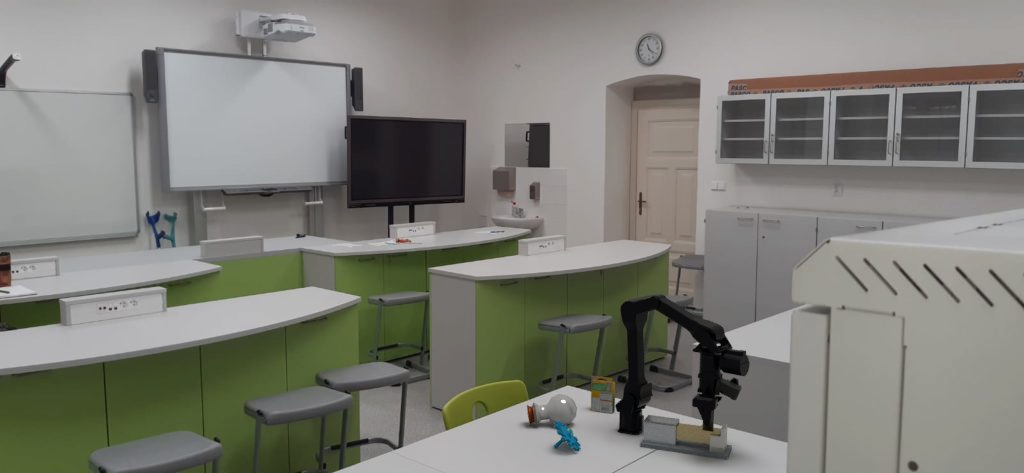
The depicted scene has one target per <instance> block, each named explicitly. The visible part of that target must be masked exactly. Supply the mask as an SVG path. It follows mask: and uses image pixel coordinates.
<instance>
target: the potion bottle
mask: <svg viewBox="0 0 1024 473" xmlns="http://www.w3.org/2000/svg"><path fill="white" fill-rule="evenodd" d="M526 406H527V407H526V408H527V409H526V410H527V418H528V423H529V426H530V425H532V424H533V423H534V424H535V425H536V426H538V425H539V423H540V422H541V421H546V420H549V421H550V422H552V423H553V424H554V423H555V422H556V421H558V422H559V421H560V422H562V424H563V426H564V425H566V426H568V425H569V424H571V423H573V421H574V420H575V419H576V417H577V412H578V406H577V404H576V402H575V400H574V399H573V398H572V397H570V396H569V395H568V394H567V395H566V394H562V393H561V394H560V393H558V394H555V395H554V396H551V398H550V399H549V401H548V403H546V404H544V405H542V404H541V405H539V404H538V403H536V402H534V401H533V402H532V404H531V406H530V405H529V404H526ZM537 424H538V425H537Z"/></svg>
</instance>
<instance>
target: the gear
mask: <svg viewBox="0 0 1024 473" xmlns="http://www.w3.org/2000/svg"><path fill="white" fill-rule="evenodd" d="M553 424H554V426H553V427H554V429H556V434H557V435H558V436H561V437H560V440H558V441H557V442H556V443H555V444H554V445H553V448H555V449H558V447H560V446H561V445H562V444H563V443H566V442H567V444H566V446H567V447H568V448H572V450H573V451H575V452H576V451H577V452H578V451H580V450H581V446H582V445H581V443H580V442H578V441H579V439H578V438H577V436H575V435H574V432H573V431H574V430H573V429H572V428H569V427H568V425H564V426H563V424H562V422H560V421H559V422H558V421H556V422H555V423H553ZM568 428H569V429H568Z"/></svg>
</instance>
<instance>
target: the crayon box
mask: <svg viewBox="0 0 1024 473" xmlns="http://www.w3.org/2000/svg"><path fill="white" fill-rule="evenodd" d="M600 379H602V380H600ZM613 380H614V378H612V377H607V376H606V377H605V376H600V375H599V376H598V375H597V376H596V375H591V383H590V384H591V387H590V388H591V389H590V411H591V410H593V411H592V412H599V413H605V414H606V413H607V414H611V415H612V414H613V413H614V412H615V411H616V407H615V405H616V382H615V381H613Z"/></svg>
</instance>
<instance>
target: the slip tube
mask: <svg viewBox="0 0 1024 473" xmlns="http://www.w3.org/2000/svg"><path fill="white" fill-rule="evenodd" d="M714 421H715V410H714V411H713V412H712V416H711V421H710V425H709V427H706V426H705V425H704V422H703V421H702V425H696V424H689V423H682V422H679V423H678V424H677V426H676V439H678V440H685V441H692V442H699V443H706V444H710V435H717V436H721V428H719V427H715V426H714V424H715V422H714Z"/></svg>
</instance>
